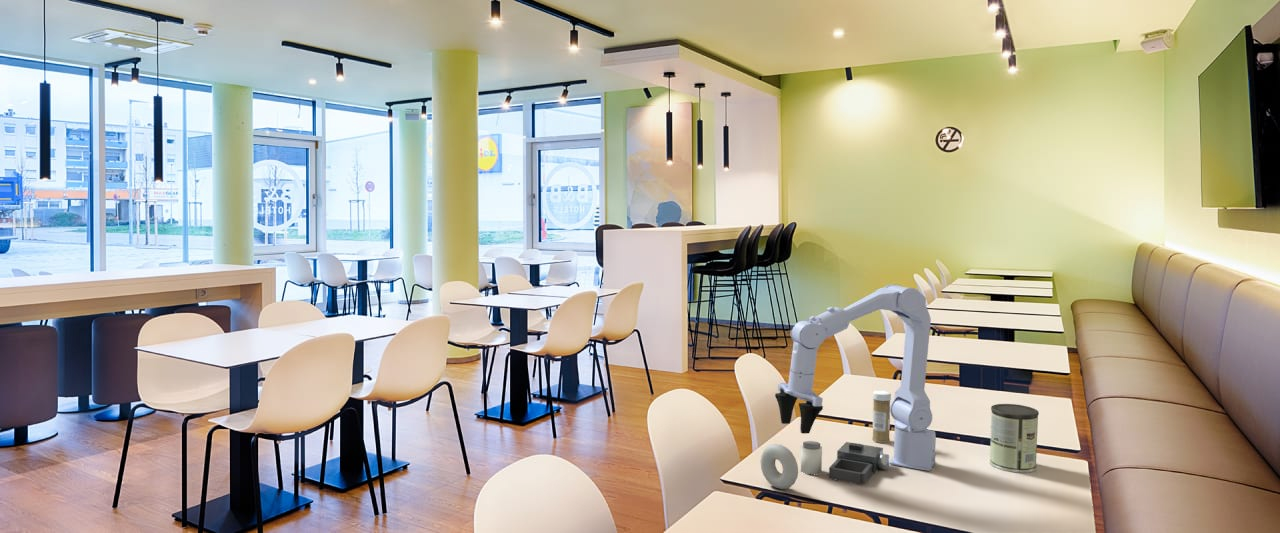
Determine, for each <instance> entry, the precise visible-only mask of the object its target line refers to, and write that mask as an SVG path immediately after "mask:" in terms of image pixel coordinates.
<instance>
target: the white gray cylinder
mask: <svg viewBox="0 0 1280 533" xmlns="http://www.w3.org/2000/svg"><path fill="white" fill-rule="evenodd" d="M800 448H801V449H800V450H801V451H800V452H801V453H800V473H802V472H803V473H802V474H804V473H805V474H804V475H808V474H811V475H810V476H817V475H816V474H819V475H821V474H822V468H823V467H822V465H823V459H822V458H823V446H821V443H820V442H818V441H815V440H806V441H803V442H802V444H801V446H800ZM820 473H821V474H820ZM812 474H813V475H812ZM814 474H815V475H814Z"/></svg>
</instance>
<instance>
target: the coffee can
mask: <svg viewBox="0 0 1280 533" xmlns="http://www.w3.org/2000/svg"><path fill="white" fill-rule="evenodd" d="M990 410H991V422H990V424H991V425H990V449H989V450H990V453H989V454H990V456H989V457H990V458H989V464H990V465H991V466H992V467H994V468H996V469H998V470H1002V471H1005V472H1009V473H1010V472H1011V473H1020V474H1022V473H1023V474H1027V473H1033V472H1035V471H1036V470H1037V450H1038V446H1037V445H1038V426H1039V425H1038V424H1039V423H1038V422H1039V420H1038V419H1039V415H1040V414H1039V410H1038V409H1036V408H1033V407H1030V406H1026V405H1023V404H1022V405H1021V404H1015V403H997V404H994V405H991V406H990Z"/></svg>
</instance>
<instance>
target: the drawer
mask: <svg viewBox="0 0 1280 533" xmlns="http://www.w3.org/2000/svg"><path fill="white" fill-rule="evenodd" d="M836 452H837V454H836V456H837V457H836V460H837V459H838V458H839V459H848V460H854V461H859V462H865V463H869V464H872V475H873V474H874V475H876V473H877V472H878V470H879V469H880V470H886V471H888V469H889V466H890V464H889V462H890V455H889V453H888V454H887V453H884V447H880V446H873V445H868V444H861V443H857V442H856V443H855V442H850V441H849V442H848V441H846V442H844V444H842V446H840V448H839V449H837V450H836Z"/></svg>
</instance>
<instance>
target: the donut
mask: <svg viewBox="0 0 1280 533" xmlns="http://www.w3.org/2000/svg"><path fill="white" fill-rule="evenodd" d="M776 460H777V461H779V462H780V464H781V466H782V473H781V472H780V471H779V470H778V468H777V466H776ZM798 466H799V465H798V462H797V460H796V457H795V455H794V454H793V452H792V451H791V450H790V449H789V448H788V447H786V446H784V445H783V444H779V443H773V444H770V445H768V446H766V447H765V448H764V449H763V451H762V454H761V456H760V469H761V472H762V475H763V477H764V478H765V480H766V481H767V482H768V484H770V485H771V486H772V487H774V488H776V489H779V488H780V489H781V490H786V489H789V488H791V487H793V485H794V484H795V483H796V481H797V479H798V475H799V467H798ZM780 489H779V490H780Z"/></svg>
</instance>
